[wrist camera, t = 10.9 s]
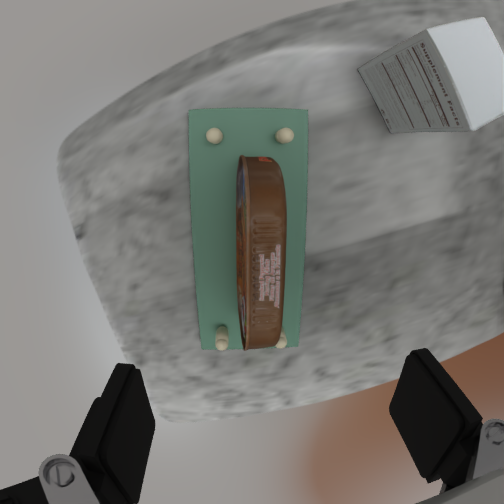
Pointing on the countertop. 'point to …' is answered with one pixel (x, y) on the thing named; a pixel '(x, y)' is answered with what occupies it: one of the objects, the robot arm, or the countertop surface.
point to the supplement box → (440, 79)
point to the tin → (260, 250)
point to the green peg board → (224, 211)
